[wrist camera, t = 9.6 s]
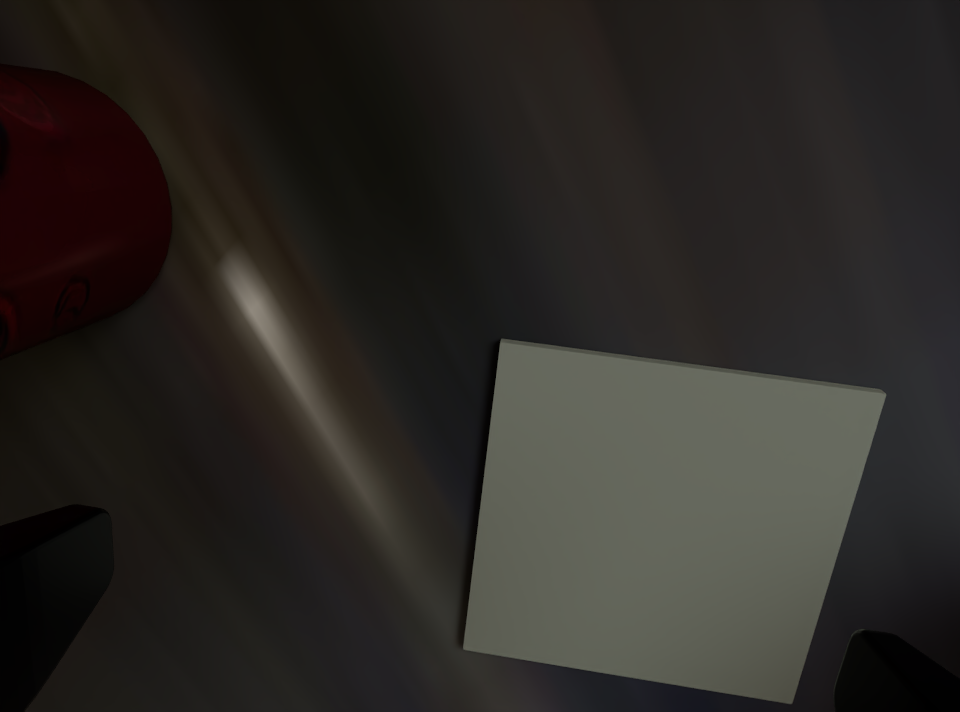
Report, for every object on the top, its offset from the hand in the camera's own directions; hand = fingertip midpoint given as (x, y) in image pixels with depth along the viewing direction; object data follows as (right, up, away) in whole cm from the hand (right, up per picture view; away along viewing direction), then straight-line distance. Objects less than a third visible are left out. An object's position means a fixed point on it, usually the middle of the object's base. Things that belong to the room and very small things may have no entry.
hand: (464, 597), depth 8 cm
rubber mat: (+6, -2, +14) cm, 15 cm away
